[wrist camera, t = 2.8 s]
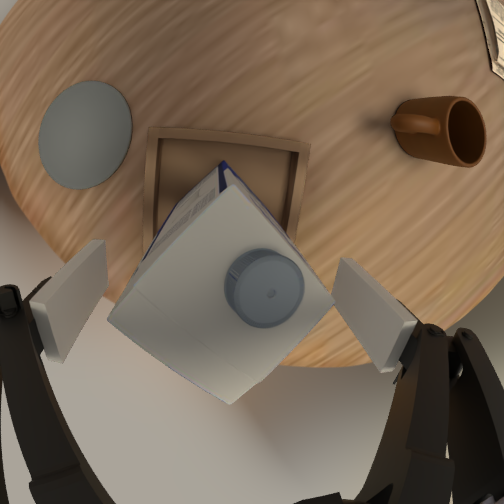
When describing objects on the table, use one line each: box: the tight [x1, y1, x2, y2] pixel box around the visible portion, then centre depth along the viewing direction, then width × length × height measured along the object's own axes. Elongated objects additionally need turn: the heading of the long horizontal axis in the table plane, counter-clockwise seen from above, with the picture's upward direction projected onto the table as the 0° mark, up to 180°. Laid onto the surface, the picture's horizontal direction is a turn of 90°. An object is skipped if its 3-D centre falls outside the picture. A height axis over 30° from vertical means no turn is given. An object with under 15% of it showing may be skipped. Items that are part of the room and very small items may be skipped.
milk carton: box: [107, 160, 336, 405], centre depth 19 cm, size 7×7×20 cm
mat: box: [39, 81, 132, 189], centre depth 23 cm, size 12×12×1 cm
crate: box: [143, 127, 311, 256], centre depth 27 cm, size 15×15×3 cm
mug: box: [390, 96, 486, 168], centre depth 23 cm, size 12×8×9 cm, turn 95°
